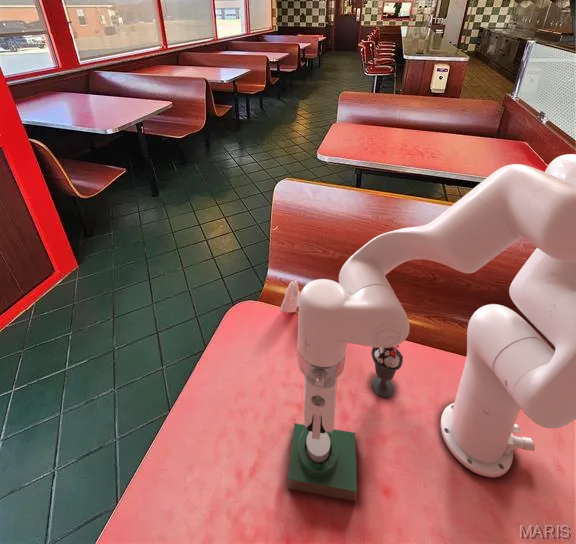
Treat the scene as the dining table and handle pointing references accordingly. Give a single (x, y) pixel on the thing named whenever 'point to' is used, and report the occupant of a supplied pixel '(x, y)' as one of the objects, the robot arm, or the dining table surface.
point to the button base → (324, 466)
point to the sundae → (385, 369)
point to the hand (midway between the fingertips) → (316, 427)
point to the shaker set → (291, 298)
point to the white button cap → (318, 447)
